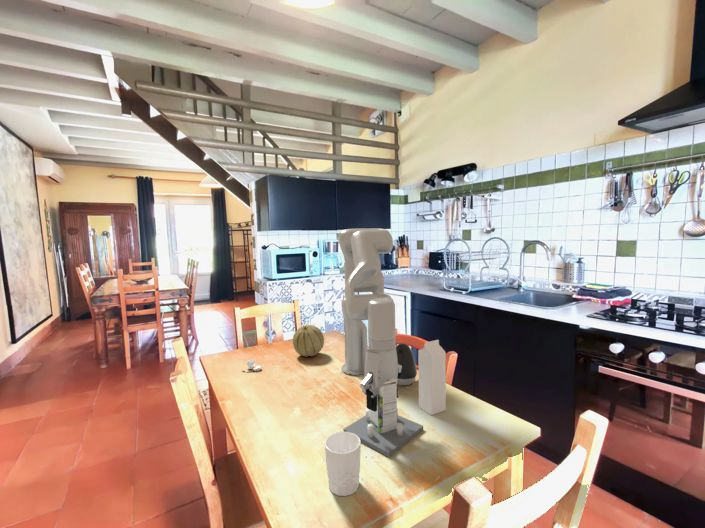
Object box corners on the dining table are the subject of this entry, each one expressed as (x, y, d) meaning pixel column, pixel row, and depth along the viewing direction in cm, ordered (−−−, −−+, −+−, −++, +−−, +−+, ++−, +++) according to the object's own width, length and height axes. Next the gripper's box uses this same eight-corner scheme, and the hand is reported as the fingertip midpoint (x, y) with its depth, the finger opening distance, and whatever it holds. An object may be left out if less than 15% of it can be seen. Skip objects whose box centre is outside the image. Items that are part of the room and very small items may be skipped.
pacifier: (264, 371, 140) (263, 361, 140) (245, 375, 136) (245, 366, 136) (257, 364, 147) (257, 356, 147) (239, 369, 143) (239, 359, 143)
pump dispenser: (385, 385, 122) (384, 345, 121) (395, 375, 132) (394, 338, 130) (412, 391, 118) (411, 349, 117) (420, 379, 127) (419, 341, 126)
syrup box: (369, 424, 95) (368, 375, 94) (387, 419, 97) (386, 371, 96) (379, 434, 90) (378, 383, 89) (398, 428, 92) (397, 378, 91)
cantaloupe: (325, 350, 164) (324, 320, 163) (324, 360, 150) (323, 328, 149) (295, 351, 164) (294, 321, 162) (291, 362, 149) (289, 329, 148)
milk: (445, 410, 104) (446, 342, 102) (431, 415, 101) (431, 345, 99) (432, 402, 109) (432, 337, 107) (418, 407, 106) (418, 340, 105)
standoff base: (379, 410, 104) (378, 398, 104) (423, 429, 94) (423, 415, 93) (343, 433, 93) (343, 418, 93) (389, 457, 82) (388, 441, 82)
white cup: (326, 474, 77) (324, 432, 76) (359, 471, 77) (358, 430, 77) (326, 500, 69) (324, 454, 68) (363, 497, 70) (362, 451, 69)
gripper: (389, 334, 100) (390, 388, 102) (350, 348, 88) (352, 410, 89) (410, 338, 95) (411, 395, 97) (372, 355, 83) (373, 420, 84)
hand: (382, 402), depth 93 cm, fingers open, 9 cm apart
